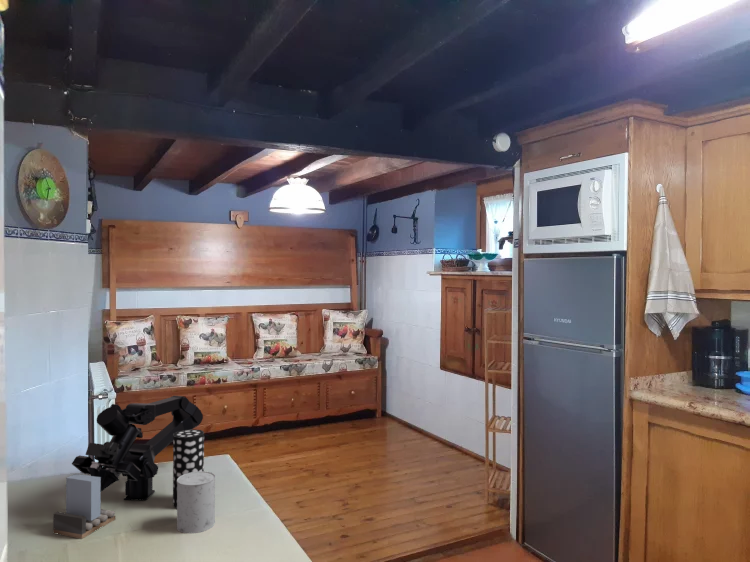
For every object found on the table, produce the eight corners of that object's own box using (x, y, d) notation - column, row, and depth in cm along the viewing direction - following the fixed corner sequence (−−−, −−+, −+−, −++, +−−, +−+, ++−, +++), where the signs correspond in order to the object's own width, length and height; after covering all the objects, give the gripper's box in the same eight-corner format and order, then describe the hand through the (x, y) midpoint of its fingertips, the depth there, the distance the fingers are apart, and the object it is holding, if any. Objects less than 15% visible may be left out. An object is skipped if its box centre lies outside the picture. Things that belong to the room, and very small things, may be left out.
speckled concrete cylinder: (179, 536, 135) (179, 487, 135) (174, 521, 143) (174, 474, 143) (218, 528, 139) (218, 481, 139) (211, 513, 148) (211, 469, 148)
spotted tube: (209, 499, 157) (209, 431, 157) (191, 511, 149) (191, 439, 149) (185, 495, 160) (186, 428, 160) (166, 506, 152) (166, 436, 152)
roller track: (88, 514, 146) (88, 496, 146) (115, 519, 144) (115, 500, 144) (53, 533, 136) (53, 513, 136) (81, 538, 133) (82, 518, 133)
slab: (75, 511, 142) (75, 473, 142) (100, 515, 139) (100, 477, 139) (66, 516, 139) (66, 477, 139) (91, 520, 137) (91, 481, 137)
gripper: (77, 426, 149) (41, 480, 138) (133, 432, 143) (101, 489, 133) (99, 446, 156) (67, 499, 146) (153, 453, 151) (124, 508, 140)
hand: (88, 498), depth 141 cm, fingers closed, pressing on slab
